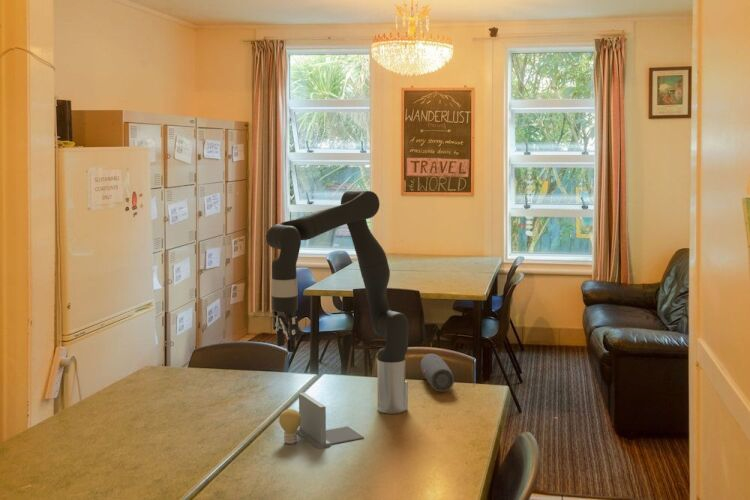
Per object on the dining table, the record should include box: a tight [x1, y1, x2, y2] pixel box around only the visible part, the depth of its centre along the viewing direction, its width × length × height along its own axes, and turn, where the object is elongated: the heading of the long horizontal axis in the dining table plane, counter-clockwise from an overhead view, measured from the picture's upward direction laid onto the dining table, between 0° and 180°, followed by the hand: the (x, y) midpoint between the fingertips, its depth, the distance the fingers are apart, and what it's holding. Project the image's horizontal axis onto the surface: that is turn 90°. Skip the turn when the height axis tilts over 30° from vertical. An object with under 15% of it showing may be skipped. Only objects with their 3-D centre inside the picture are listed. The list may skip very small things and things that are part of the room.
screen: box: [296, 391, 331, 449], centre depth 237 cm, size 4×17×12 cm, turn 28°
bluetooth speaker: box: [420, 353, 455, 393], centre depth 290 cm, size 23×9×10 cm, turn 6°
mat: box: [326, 425, 365, 446], centre depth 239 cm, size 11×11×1 cm
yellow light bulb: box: [278, 408, 301, 445], centre depth 233 cm, size 6×6×10 cm
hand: (285, 348), depth 232 cm, fingers open, 8 cm apart
